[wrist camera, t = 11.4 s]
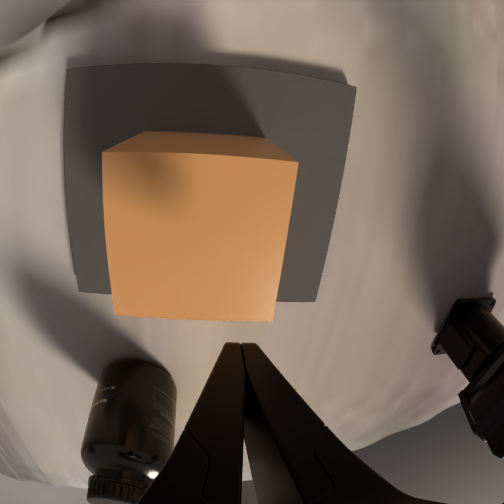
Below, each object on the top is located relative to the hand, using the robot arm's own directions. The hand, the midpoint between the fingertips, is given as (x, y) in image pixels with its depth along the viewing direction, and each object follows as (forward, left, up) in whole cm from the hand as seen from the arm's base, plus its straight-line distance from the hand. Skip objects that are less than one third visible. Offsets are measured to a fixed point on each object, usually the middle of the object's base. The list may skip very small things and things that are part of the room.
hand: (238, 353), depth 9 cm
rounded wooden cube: (+1, -1, -11) cm, 11 cm away
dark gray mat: (+1, -1, -12) cm, 12 cm away
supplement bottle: (+6, +16, -12) cm, 21 cm away
